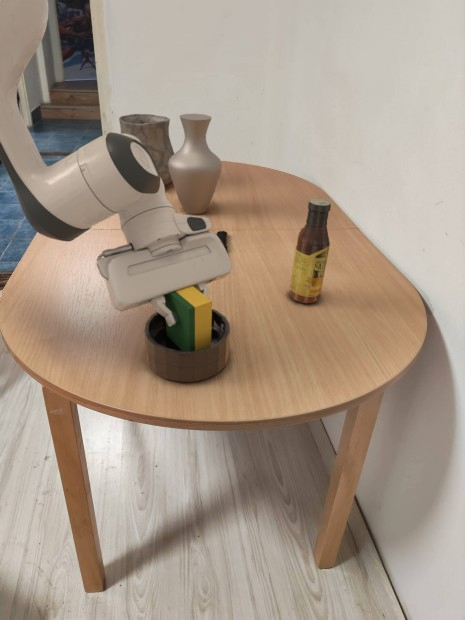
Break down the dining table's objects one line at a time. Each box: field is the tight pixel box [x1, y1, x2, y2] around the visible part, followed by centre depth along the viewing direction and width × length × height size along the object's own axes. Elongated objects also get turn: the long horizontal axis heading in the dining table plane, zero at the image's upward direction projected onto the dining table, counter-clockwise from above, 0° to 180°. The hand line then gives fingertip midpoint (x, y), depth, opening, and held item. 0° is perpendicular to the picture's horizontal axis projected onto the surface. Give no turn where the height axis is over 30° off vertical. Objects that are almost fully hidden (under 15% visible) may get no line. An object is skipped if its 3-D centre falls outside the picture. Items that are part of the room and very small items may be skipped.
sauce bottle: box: [289, 198, 332, 304], centre depth 86 cm, size 6×6×20 cm
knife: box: [216, 230, 228, 251], centre depth 106 cm, size 21×1×3 cm
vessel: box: [118, 113, 175, 187], centre depth 141 cm, size 22×22×20 cm
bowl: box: [143, 308, 231, 383], centre depth 72 cm, size 13×13×6 cm
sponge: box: [164, 286, 213, 351], centre depth 70 cm, size 4×7×9 cm, turn 37°
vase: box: [168, 113, 223, 215], centre depth 122 cm, size 14×14×25 cm
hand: (190, 319), depth 69 cm, fingers closed on sponge, 4 cm apart
